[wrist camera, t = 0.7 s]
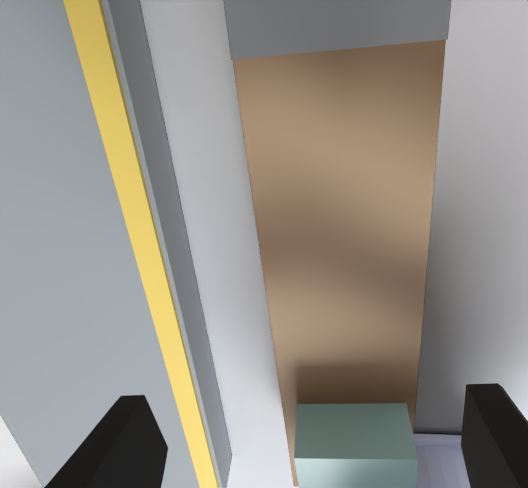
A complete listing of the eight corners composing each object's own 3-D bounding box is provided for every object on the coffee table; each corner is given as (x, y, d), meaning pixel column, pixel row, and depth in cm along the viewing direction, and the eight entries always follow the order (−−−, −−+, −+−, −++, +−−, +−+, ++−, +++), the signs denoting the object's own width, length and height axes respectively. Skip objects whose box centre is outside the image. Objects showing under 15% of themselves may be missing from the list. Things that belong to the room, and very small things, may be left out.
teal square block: (404, 462, 21) (414, 518, 19) (305, 461, 21) (303, 515, 19) (406, 403, 19) (417, 459, 17) (296, 404, 19) (293, 458, 17)
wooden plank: (396, 418, 25) (408, 490, 22) (297, 417, 26) (293, 486, 23) (430, -238, 12) (474, -316, 8) (223, -197, 13) (187, -255, 9)
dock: (232, 455, 28) (224, 500, 25) (62, 448, 29) (40, 490, 27) (91, -238, 12) (37, -283, 10) (-258, -177, 14) (-375, -205, 11)
